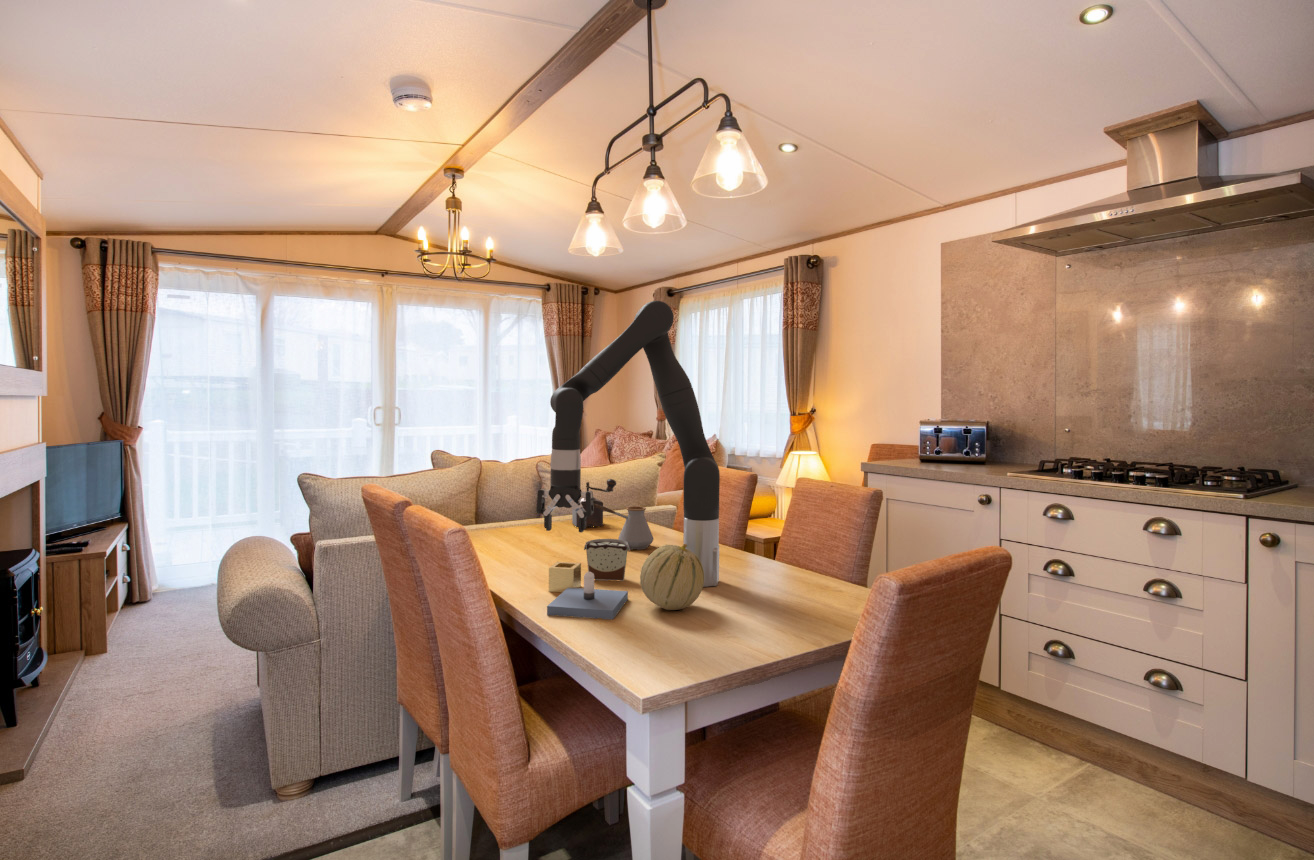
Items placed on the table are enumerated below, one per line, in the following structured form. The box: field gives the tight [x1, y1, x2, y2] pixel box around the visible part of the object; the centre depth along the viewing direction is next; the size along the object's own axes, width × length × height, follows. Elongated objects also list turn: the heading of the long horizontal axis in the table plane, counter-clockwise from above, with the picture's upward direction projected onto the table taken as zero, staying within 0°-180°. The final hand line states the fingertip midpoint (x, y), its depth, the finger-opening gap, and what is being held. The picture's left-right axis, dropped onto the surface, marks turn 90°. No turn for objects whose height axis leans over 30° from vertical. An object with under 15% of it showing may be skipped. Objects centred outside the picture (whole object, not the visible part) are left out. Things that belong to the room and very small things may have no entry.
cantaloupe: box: [639, 543, 704, 611], centre depth 154 cm, size 15×15×15 cm
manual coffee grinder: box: [571, 478, 617, 528], centre depth 255 cm, size 16×11×18 cm
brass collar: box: [548, 561, 582, 593], centre depth 169 cm, size 6×6×6 cm
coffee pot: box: [593, 503, 654, 550], centre depth 216 cm, size 21×12×15 cm, turn 102°
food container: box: [583, 538, 631, 582], centre depth 180 cm, size 12×6×10 cm, turn 84°
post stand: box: [546, 571, 629, 620], centre depth 154 cm, size 15×15×8 cm
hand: (564, 531), depth 168 cm, fingers open, 8 cm apart
